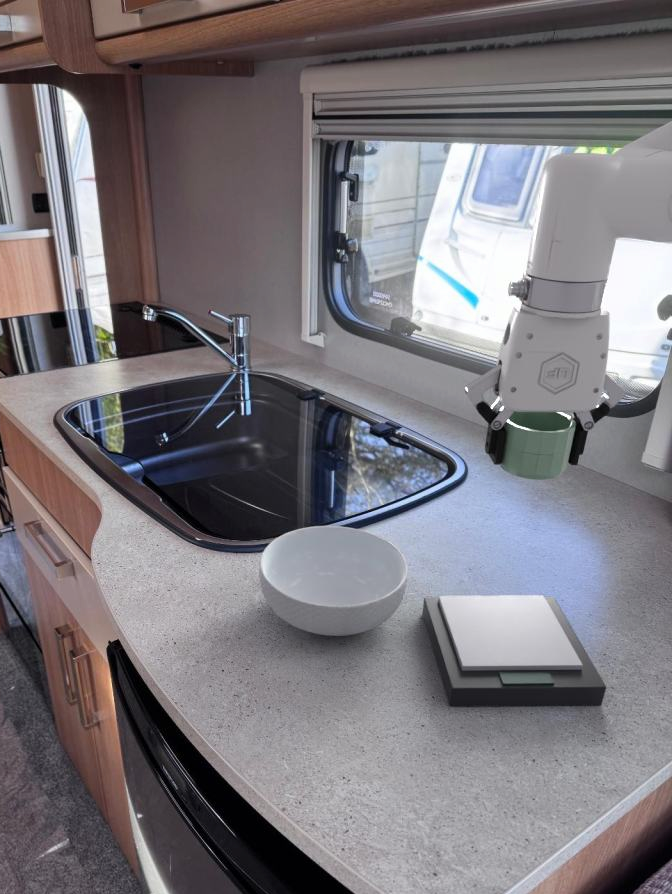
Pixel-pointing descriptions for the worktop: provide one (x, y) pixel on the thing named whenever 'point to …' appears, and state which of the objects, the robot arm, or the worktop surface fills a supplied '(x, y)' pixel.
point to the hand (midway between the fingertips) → (531, 458)
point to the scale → (509, 652)
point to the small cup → (537, 444)
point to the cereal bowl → (333, 579)
